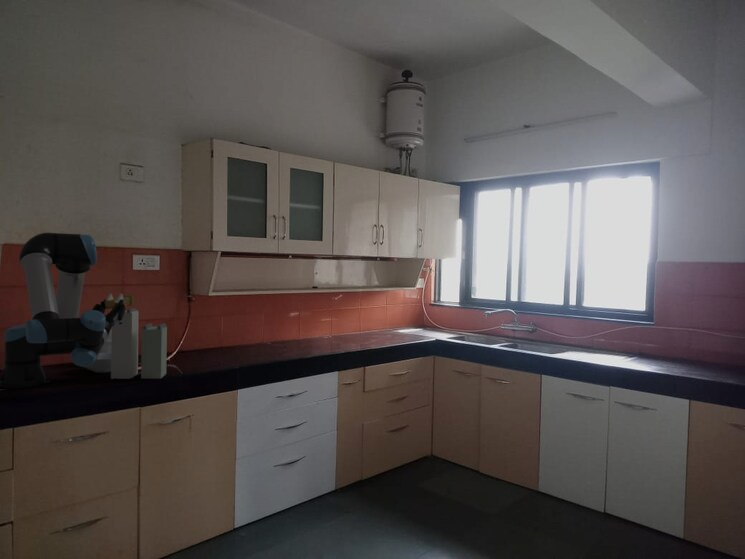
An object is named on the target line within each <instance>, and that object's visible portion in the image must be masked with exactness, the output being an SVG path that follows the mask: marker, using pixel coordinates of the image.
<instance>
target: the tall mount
mask: <svg viewBox="0 0 745 559" xmlns="http://www.w3.org/2000/svg"><path fill="white" fill-rule="evenodd" d="M139 314H140V313H139V310H138V308H137V307H133V308H128V309H125V313H124V316H123V318H122V324H119V323H116V324H115V325H114V326H112V328H111V329H112V333H111V372H110V379H111V380H114V379H115V378H116V379H118V380H119V379H121V380H124V379H126V380H127V379H128V380H131V379H133V378H134V377H135V376H137V375H138V374H139V373H138V372H139V369H138V368H139V367H138V366H139ZM117 315H118V314H117ZM117 315H116V316H115V317H114V319H113V320H115V319H116V317H117ZM130 378H131V379H130ZM116 379H115V380H116Z"/></svg>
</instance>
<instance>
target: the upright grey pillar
mask: <svg viewBox="0 0 745 559" xmlns="http://www.w3.org/2000/svg"><path fill="white" fill-rule="evenodd" d="M167 341H168V326H167V323H165V322H164V323H161V324H159V325H157V326H153V323H151V322H149V323H147V324H145V325H143V326H142V329H141V350H140V351H141V354H140V356H141V359H140V360H141V366H140V368H141V369H140V378H141V379H144V380H145V379H162V378H163V377H164V376H166V374H167V357H168V356H167V349H168V347H167V346H168V344H167V343H168V342H167ZM141 379H140V380H141Z"/></svg>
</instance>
